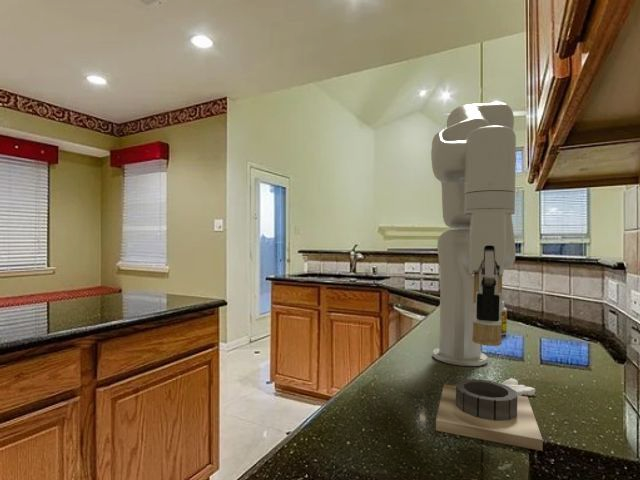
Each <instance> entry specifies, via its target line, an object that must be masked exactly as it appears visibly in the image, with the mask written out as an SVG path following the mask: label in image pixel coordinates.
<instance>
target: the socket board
mask: <svg viewBox="0 0 640 480" xmlns="http://www.w3.org/2000/svg"><path fill="white" fill-rule="evenodd" d="M500 383H501V382H500ZM500 383H499V382H496V381H492V380H486V379H477V378H476V379H475V378H469V379H467V378H466V379H462V380H460V381H457V382H456V385H450V384H445V383H444V384H443V385H442V390H441V391H442V392H441V395H440V400H439V405H438V410H437V413H436V418H435V431H437V432H443V433H449V434H453V435H459V436H463V437H467V438H474V439H477V440H478V439H479V440H484V441H490V442H494V443H498V444H499V443H500V444H505V445H510V446H515V447H519V448H526V449H530V450H536V451H540V452H543V451H544V450H543V446H544V445H543V444H544V443H543V441H544V440H543V437H542V434H541V431H540V428H539V425H538V422H537V419H536V416H535V414H534V412H533V408H532V406H531V402H530V399H529V397H528V396H526V395H524V396H523V395H522V396H518V395H517V393H516V391H515V390H513V389H512V388H510V387H508V386H506V385H503V384H500Z"/></svg>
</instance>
